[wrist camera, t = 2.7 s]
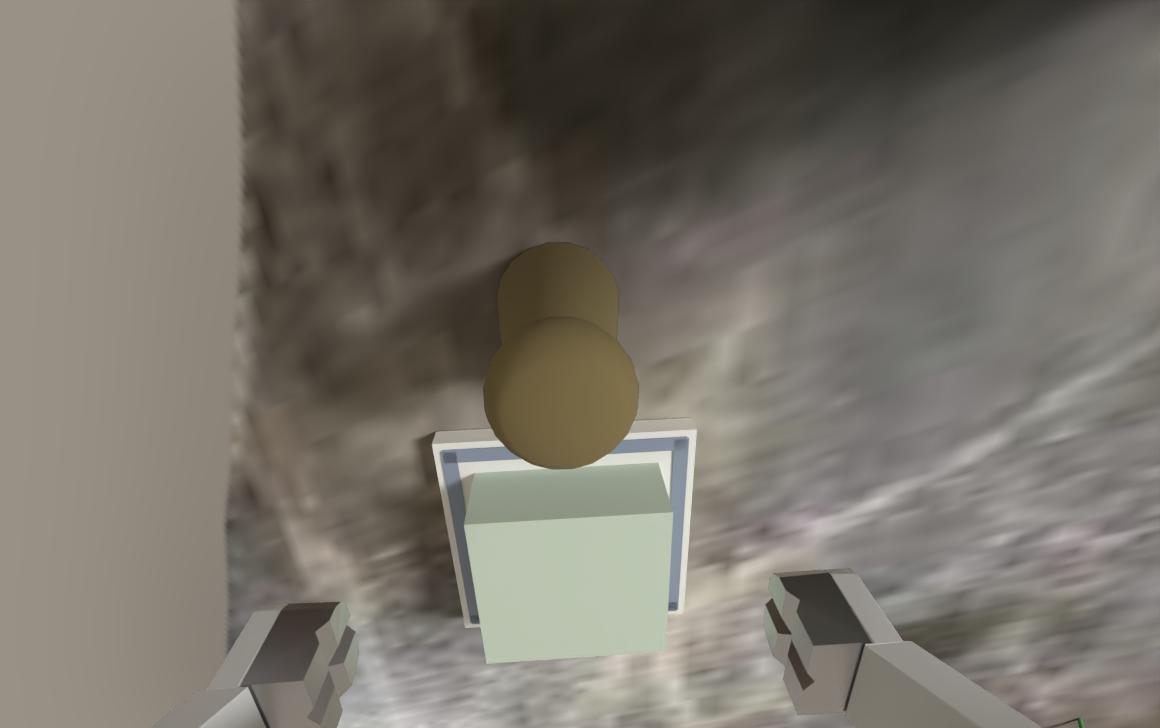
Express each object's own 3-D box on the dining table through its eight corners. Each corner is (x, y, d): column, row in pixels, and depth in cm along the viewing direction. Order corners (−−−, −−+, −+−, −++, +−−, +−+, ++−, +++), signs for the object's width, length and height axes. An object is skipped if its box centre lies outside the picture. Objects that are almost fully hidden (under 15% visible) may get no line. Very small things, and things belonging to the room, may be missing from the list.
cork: (611, 232, 25) (651, 315, 15) (625, 349, 28) (667, 484, 18) (483, 252, 25) (440, 347, 15) (509, 366, 28) (487, 511, 18)
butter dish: (436, 431, 29) (414, 493, 25) (691, 417, 30) (717, 476, 25) (468, 611, 35) (455, 689, 31) (679, 598, 36) (698, 672, 31)
